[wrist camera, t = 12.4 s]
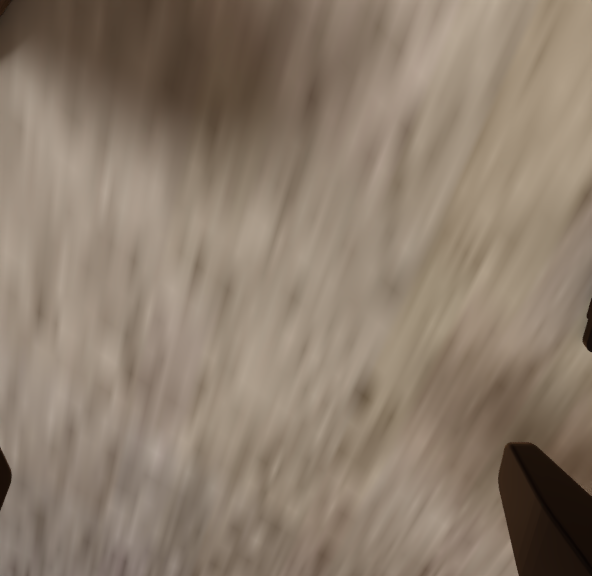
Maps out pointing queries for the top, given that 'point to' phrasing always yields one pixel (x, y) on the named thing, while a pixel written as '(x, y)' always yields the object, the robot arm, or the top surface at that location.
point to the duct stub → (3, 5)
